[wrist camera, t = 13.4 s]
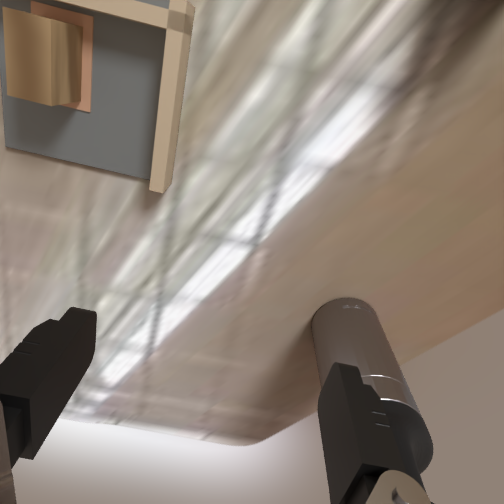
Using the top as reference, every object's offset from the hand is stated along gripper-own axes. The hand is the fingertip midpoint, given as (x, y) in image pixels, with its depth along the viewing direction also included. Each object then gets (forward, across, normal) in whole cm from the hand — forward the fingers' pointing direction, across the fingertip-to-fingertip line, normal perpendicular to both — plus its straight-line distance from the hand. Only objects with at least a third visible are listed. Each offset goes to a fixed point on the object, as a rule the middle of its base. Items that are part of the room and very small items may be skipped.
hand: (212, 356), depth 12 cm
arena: (+33, +18, -4) cm, 38 cm away
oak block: (+32, +21, -5) cm, 39 cm away
